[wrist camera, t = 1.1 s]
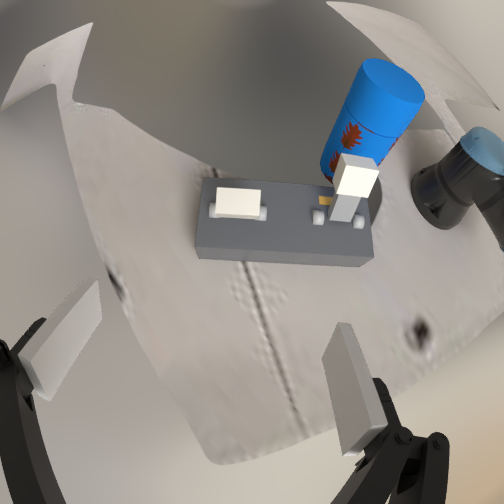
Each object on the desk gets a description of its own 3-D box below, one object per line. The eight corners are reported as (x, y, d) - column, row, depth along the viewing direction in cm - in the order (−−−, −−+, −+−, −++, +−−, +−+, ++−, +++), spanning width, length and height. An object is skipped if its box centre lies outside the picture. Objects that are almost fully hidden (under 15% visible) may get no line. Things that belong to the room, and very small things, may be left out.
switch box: (353, 207, 52) (368, 188, 45) (359, 267, 48) (377, 255, 42) (206, 195, 51) (202, 173, 44) (199, 258, 47) (193, 244, 40)
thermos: (308, 163, 55) (347, 65, 31) (339, 140, 57) (381, 53, 34) (348, 200, 53) (410, 113, 29) (375, 173, 55) (434, 94, 32)
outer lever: (255, 202, 43) (260, 189, 32) (253, 222, 43) (259, 215, 32) (222, 200, 43) (217, 187, 32) (220, 220, 43) (215, 213, 32)
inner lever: (351, 212, 45) (372, 158, 36) (355, 225, 43) (379, 170, 34) (322, 209, 45) (341, 152, 36) (325, 222, 43) (346, 165, 34)
